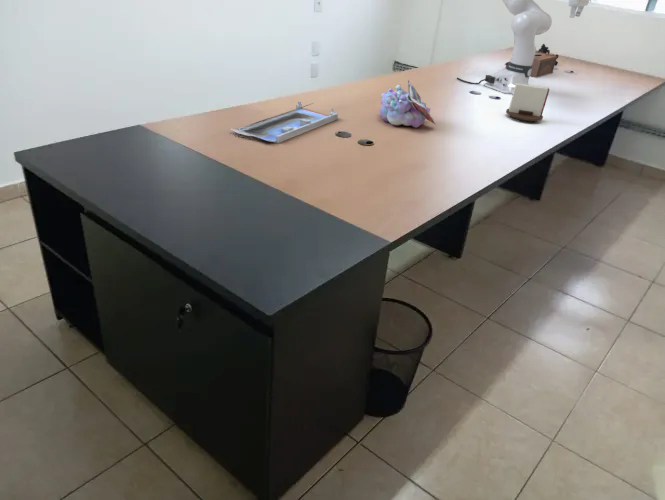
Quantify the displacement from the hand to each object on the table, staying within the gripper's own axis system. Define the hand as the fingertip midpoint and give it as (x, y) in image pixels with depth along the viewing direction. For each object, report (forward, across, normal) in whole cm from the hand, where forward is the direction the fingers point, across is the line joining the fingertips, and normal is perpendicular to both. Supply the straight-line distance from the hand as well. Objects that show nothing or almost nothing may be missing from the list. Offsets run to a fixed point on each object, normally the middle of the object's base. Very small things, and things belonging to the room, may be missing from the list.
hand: (574, 17), depth 245 cm
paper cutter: (+42, +123, -60) cm, 143 cm away
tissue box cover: (+42, -79, -33) cm, 95 cm away
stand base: (+41, +28, -2) cm, 50 cm away
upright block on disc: (+40, +28, -2) cm, 49 cm away
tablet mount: (+42, -124, -43) cm, 138 cm away
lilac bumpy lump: (+42, +81, -33) cm, 97 cm away
